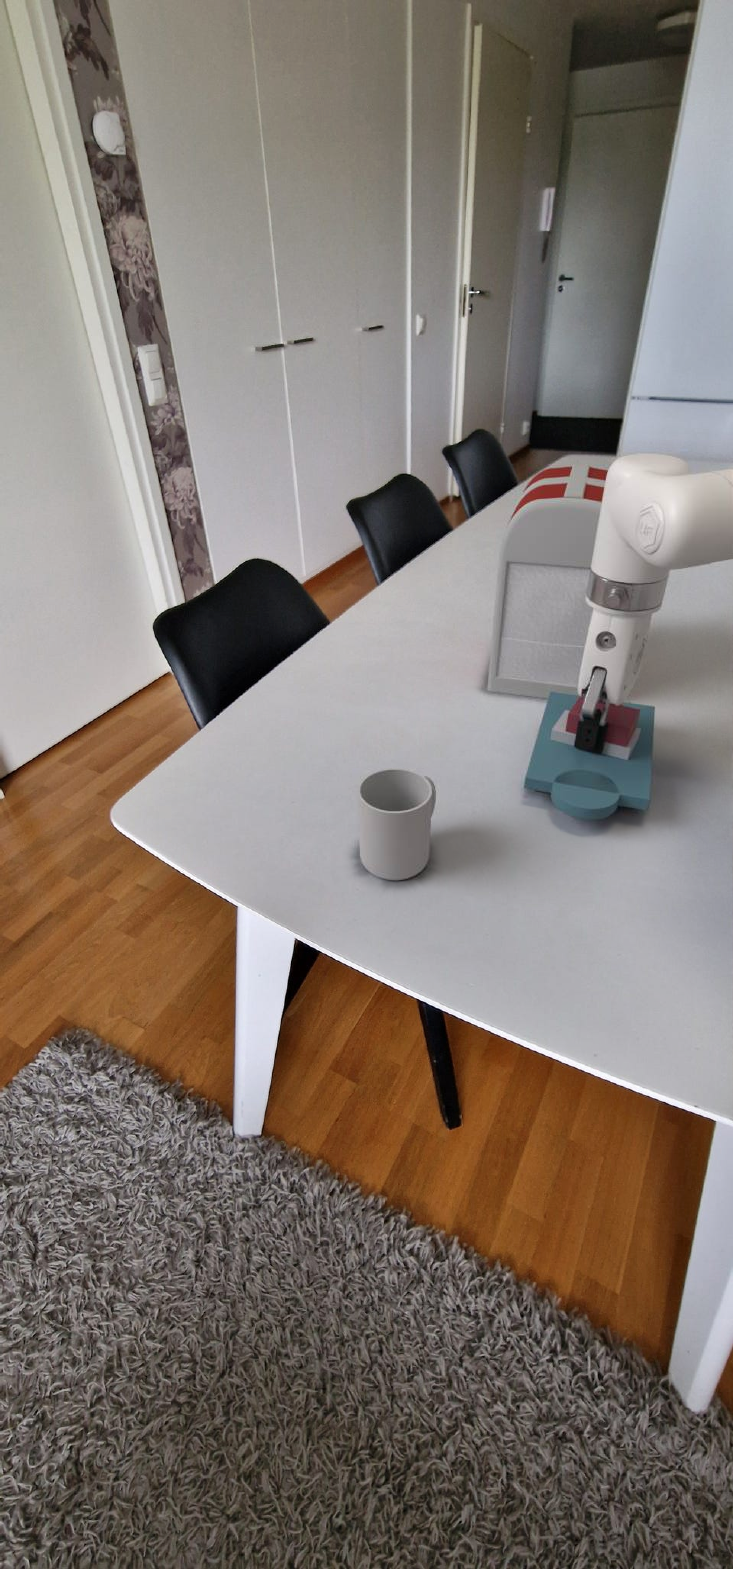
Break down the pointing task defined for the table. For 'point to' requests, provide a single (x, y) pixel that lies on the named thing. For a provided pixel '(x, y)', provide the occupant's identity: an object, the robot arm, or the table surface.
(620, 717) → the maroon block on base
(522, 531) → the red-striped rounded block
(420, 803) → the cup
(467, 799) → the table surface
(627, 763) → the board
